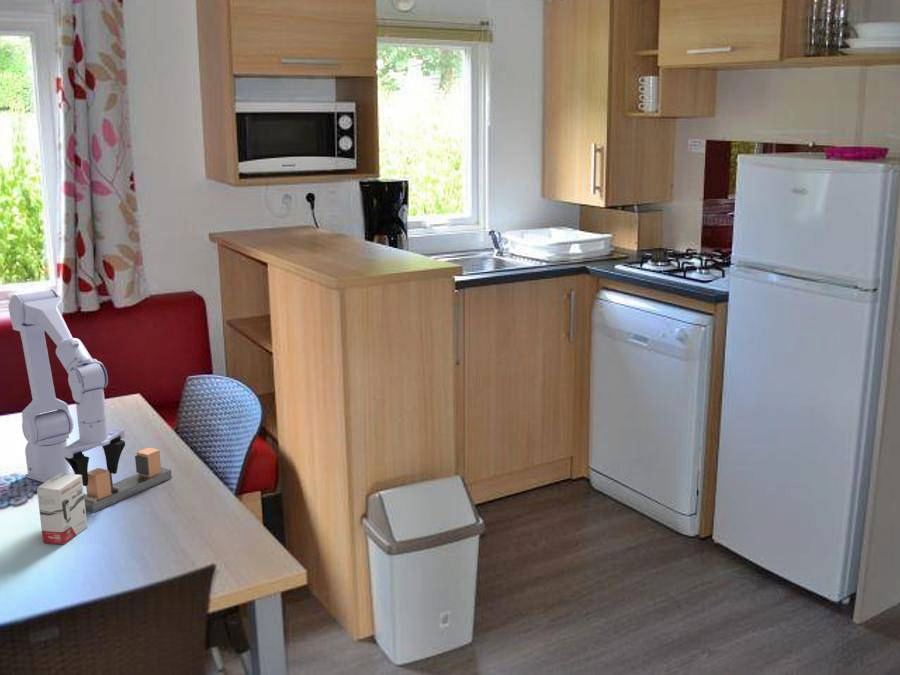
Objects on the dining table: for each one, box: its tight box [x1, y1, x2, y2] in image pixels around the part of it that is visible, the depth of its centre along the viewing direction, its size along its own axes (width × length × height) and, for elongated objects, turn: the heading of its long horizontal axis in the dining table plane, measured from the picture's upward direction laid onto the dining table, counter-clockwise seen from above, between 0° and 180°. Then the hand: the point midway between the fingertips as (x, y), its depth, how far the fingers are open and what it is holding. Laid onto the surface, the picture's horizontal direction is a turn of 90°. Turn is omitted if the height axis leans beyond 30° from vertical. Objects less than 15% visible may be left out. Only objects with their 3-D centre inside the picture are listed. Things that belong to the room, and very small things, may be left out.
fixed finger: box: [134, 447, 162, 478], centre depth 216 cm, size 4×4×6 cm
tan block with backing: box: [85, 467, 114, 500], centre depth 205 cm, size 4×4×6 cm
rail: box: [84, 467, 173, 513], centre depth 211 cm, size 5×22×3 cm, turn 149°
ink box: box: [36, 473, 88, 545], centre depth 190 cm, size 9×5×12 cm, turn 168°
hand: (98, 478), depth 205 cm, fingers open, 7 cm apart
